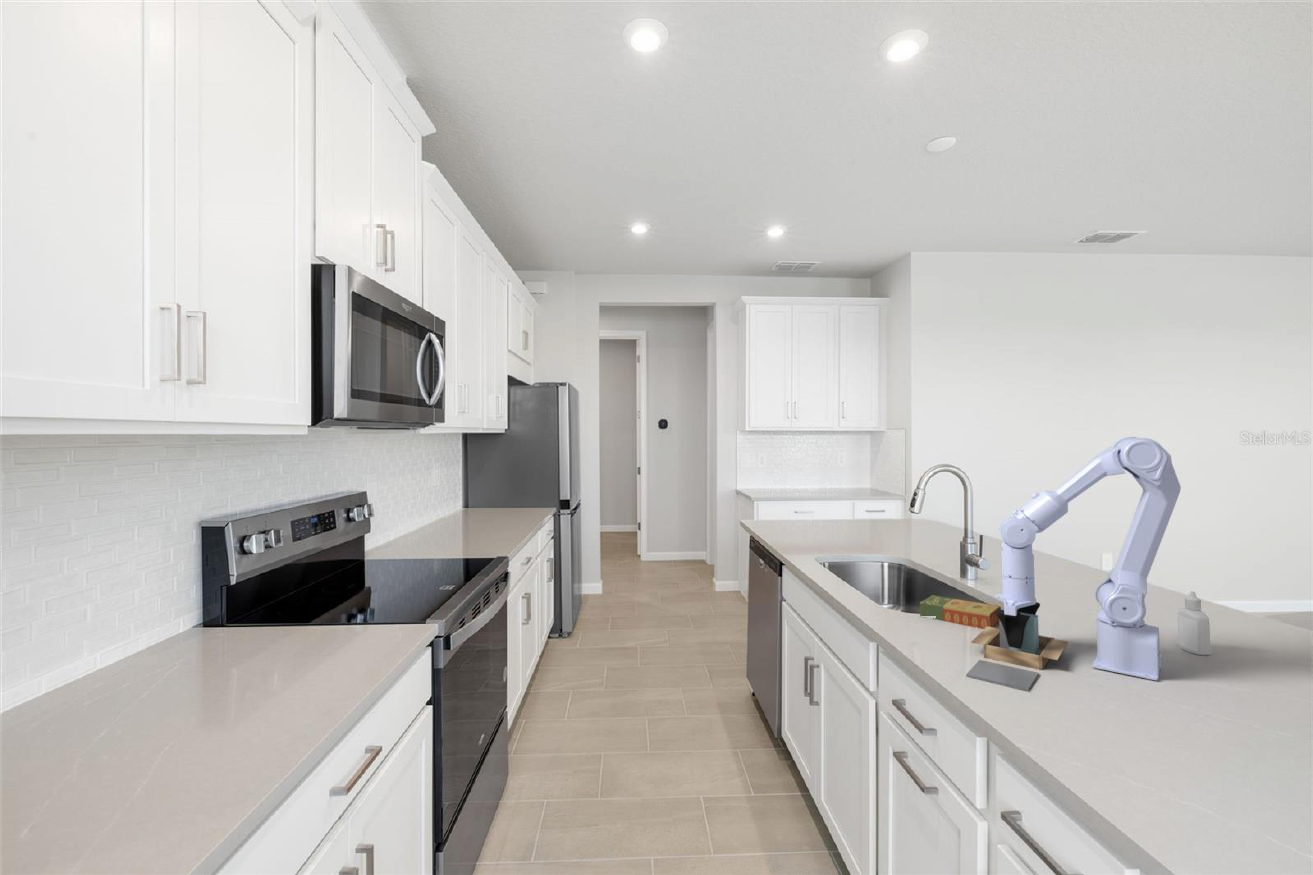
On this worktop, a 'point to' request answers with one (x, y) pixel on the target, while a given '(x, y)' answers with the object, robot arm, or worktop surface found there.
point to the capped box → (1029, 638)
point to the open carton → (992, 640)
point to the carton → (960, 611)
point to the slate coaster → (1003, 675)
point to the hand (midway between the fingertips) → (1019, 642)
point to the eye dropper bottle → (1193, 627)
